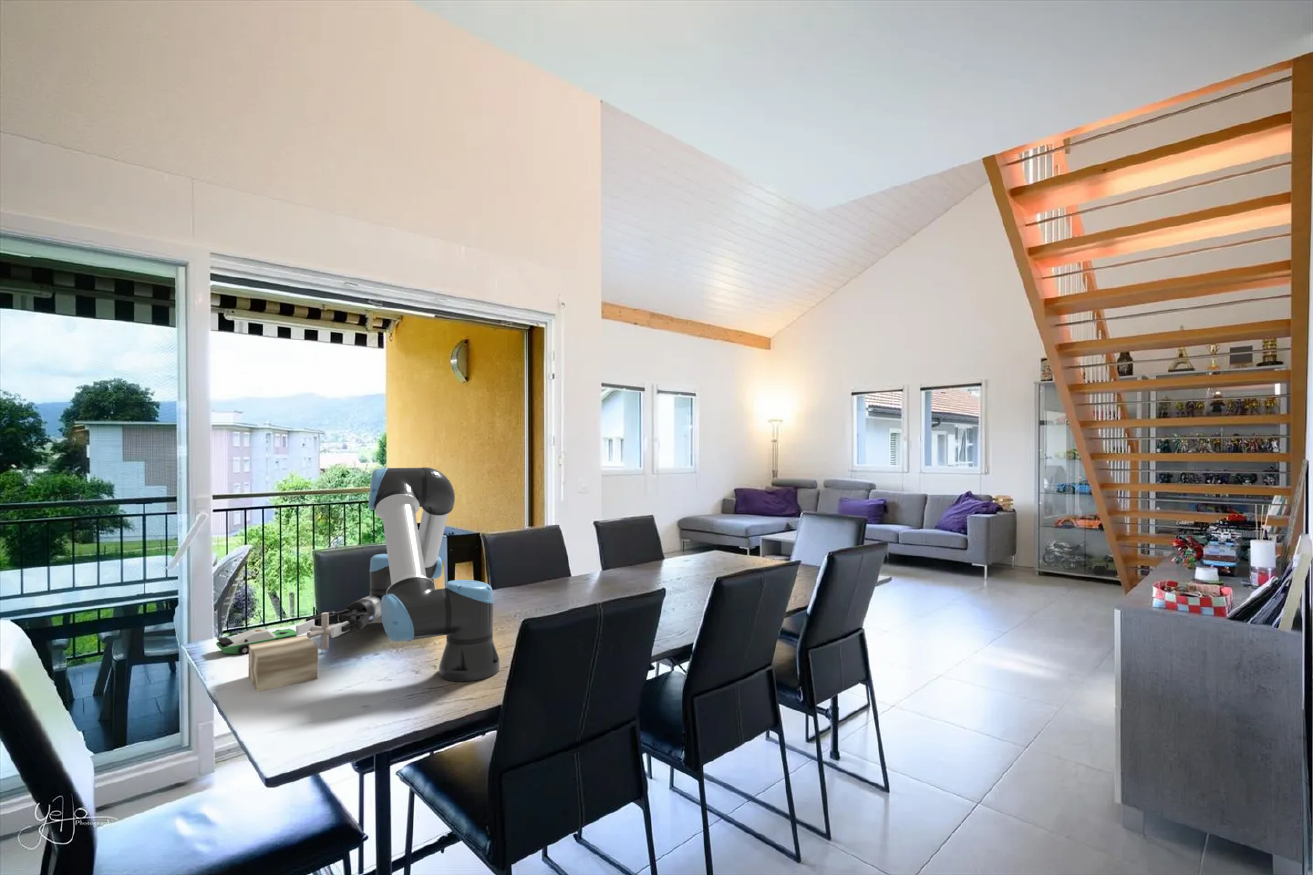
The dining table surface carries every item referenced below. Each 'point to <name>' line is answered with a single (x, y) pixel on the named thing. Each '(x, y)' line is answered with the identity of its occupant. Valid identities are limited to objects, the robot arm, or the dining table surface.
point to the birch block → (282, 662)
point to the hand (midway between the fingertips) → (314, 631)
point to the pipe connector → (322, 631)
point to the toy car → (251, 639)
